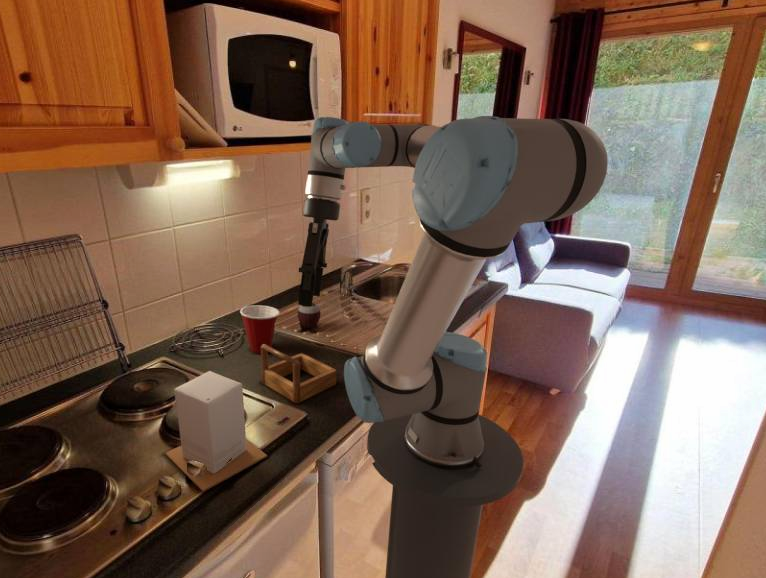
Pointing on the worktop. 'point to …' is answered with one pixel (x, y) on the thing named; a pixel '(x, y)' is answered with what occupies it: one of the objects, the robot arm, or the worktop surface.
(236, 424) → the rectangular carton
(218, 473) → the mat
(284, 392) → the open wooden box
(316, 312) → the mate gourd
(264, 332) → the plastic cup
